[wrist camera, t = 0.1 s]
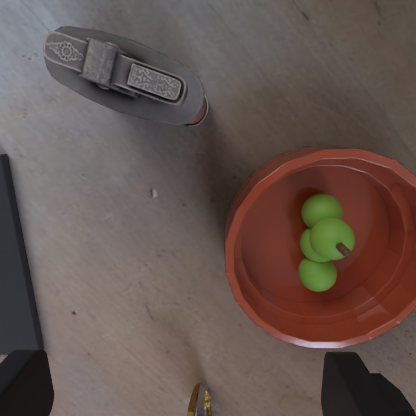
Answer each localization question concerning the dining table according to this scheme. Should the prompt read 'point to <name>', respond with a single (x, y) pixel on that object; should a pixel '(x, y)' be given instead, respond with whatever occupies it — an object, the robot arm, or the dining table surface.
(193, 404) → the ring
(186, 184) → the dining table surface
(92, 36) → the lighter
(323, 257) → the grapes
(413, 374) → the dining table surface
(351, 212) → the bowl
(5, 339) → the slate board
